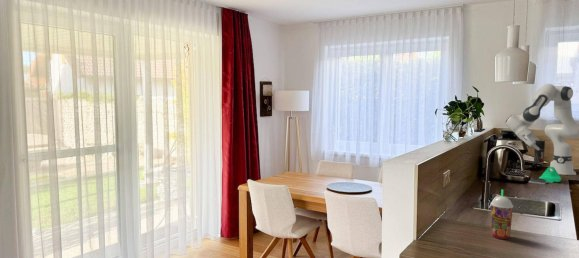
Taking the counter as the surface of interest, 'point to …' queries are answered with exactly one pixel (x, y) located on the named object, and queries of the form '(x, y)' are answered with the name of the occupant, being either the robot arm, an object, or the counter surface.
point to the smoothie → (501, 216)
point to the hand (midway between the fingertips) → (540, 149)
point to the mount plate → (538, 181)
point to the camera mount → (551, 175)
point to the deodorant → (539, 152)
